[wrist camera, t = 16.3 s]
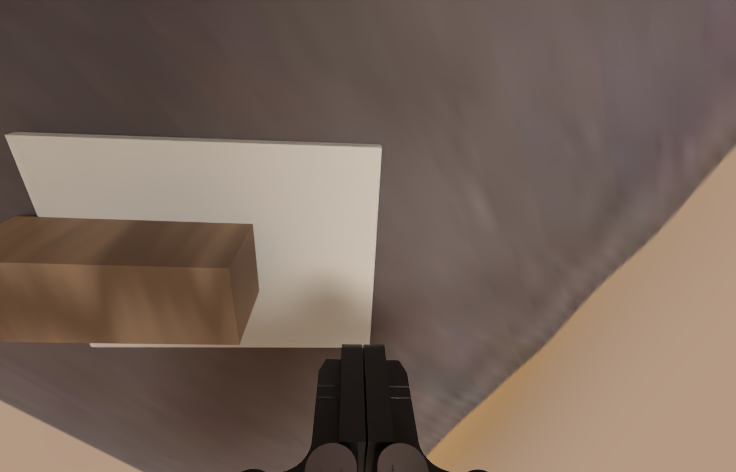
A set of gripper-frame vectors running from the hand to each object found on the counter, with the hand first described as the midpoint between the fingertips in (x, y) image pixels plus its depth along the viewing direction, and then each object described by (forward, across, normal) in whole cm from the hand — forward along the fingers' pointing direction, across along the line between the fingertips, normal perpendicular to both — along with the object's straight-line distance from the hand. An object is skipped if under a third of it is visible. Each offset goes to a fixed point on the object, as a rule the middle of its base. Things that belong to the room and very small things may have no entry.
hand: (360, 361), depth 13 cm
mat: (+7, +7, 0) cm, 10 cm away
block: (+5, +5, 0) cm, 7 cm away
